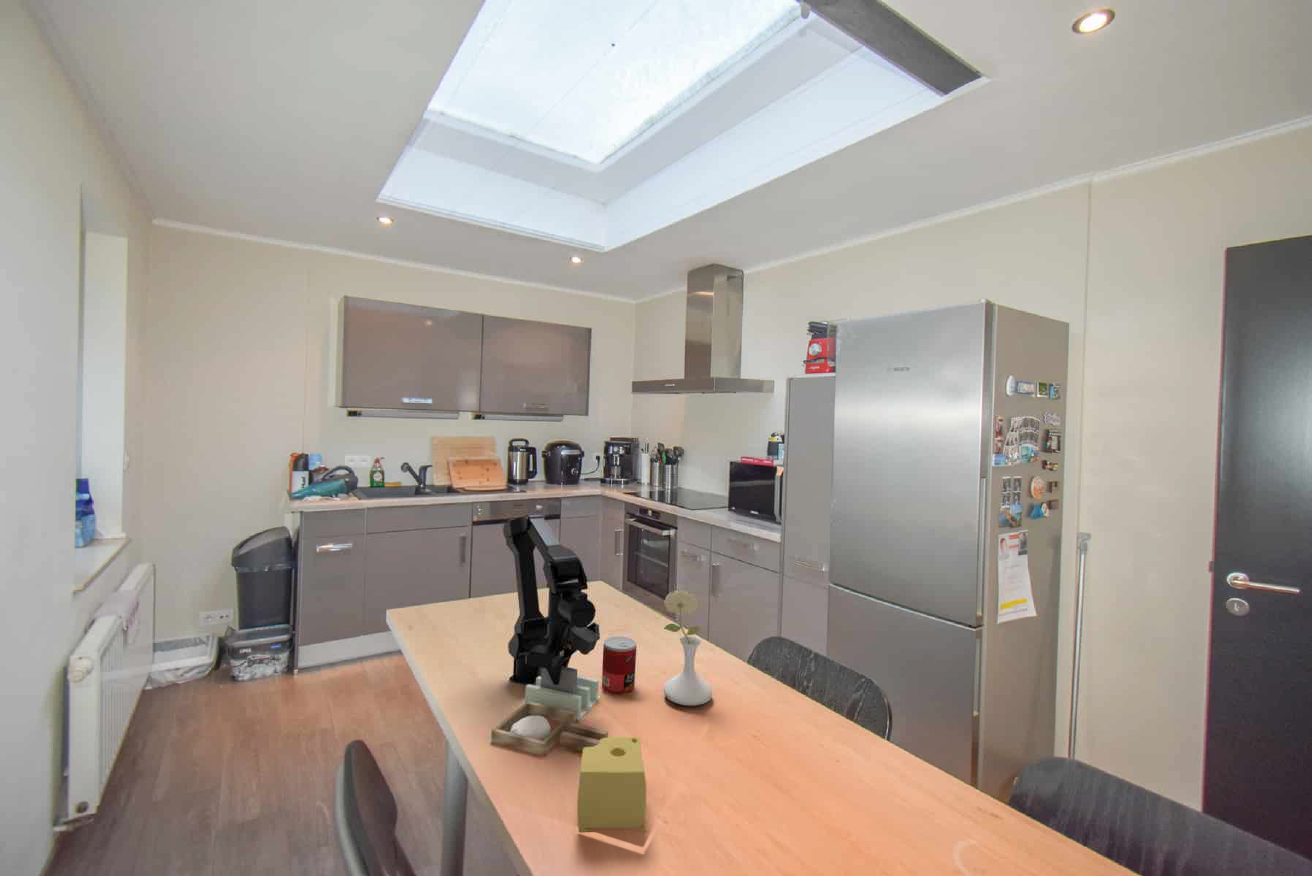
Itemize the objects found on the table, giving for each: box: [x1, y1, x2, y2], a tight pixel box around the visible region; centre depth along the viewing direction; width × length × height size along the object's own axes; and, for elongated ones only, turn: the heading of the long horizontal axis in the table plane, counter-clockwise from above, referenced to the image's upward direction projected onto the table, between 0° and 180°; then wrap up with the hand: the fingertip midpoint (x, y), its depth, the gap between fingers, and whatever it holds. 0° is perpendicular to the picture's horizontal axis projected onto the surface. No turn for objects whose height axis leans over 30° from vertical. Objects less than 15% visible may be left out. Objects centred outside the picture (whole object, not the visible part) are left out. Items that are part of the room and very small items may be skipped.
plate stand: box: [558, 722, 609, 756], centre depth 111 cm, size 8×6×3 cm
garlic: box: [509, 715, 552, 741], centre depth 114 cm, size 8×7×4 cm
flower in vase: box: [662, 590, 713, 707], centre depth 133 cm, size 13×11×25 cm
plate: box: [541, 666, 578, 695], centre depth 125 cm, size 8×2×8 cm, turn 70°
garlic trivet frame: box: [490, 701, 576, 757], centre depth 114 cm, size 12×13×3 cm
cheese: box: [576, 736, 647, 833], centre depth 93 cm, size 10×11×10 cm
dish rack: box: [520, 674, 602, 721], centre depth 127 cm, size 14×11×5 cm
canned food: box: [601, 635, 637, 695], centre depth 136 cm, size 8×8×11 cm
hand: (558, 682), depth 125 cm, fingers closed on plate, 2 cm apart
